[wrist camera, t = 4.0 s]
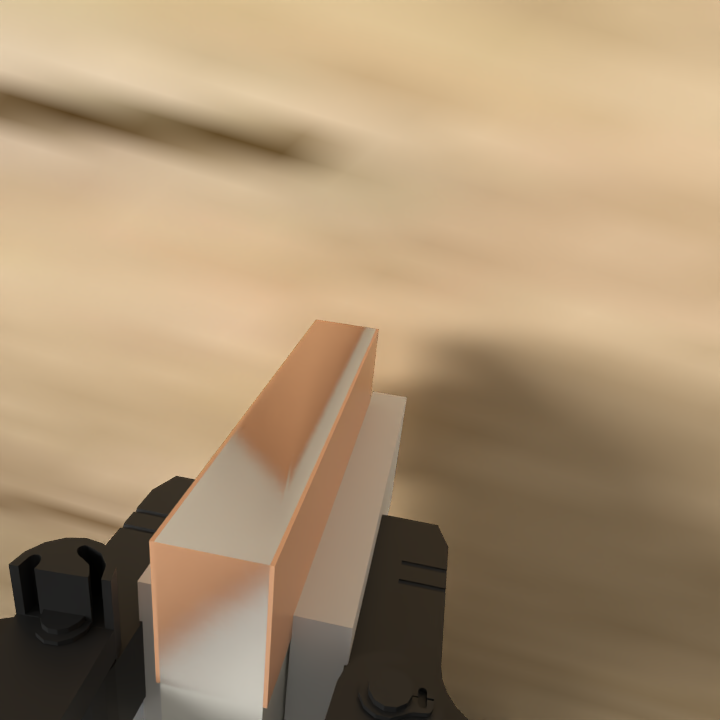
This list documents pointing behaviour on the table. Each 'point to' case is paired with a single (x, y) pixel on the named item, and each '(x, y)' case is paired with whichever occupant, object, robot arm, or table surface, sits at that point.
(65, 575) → the robot arm
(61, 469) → the table surface
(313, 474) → the slim white post
